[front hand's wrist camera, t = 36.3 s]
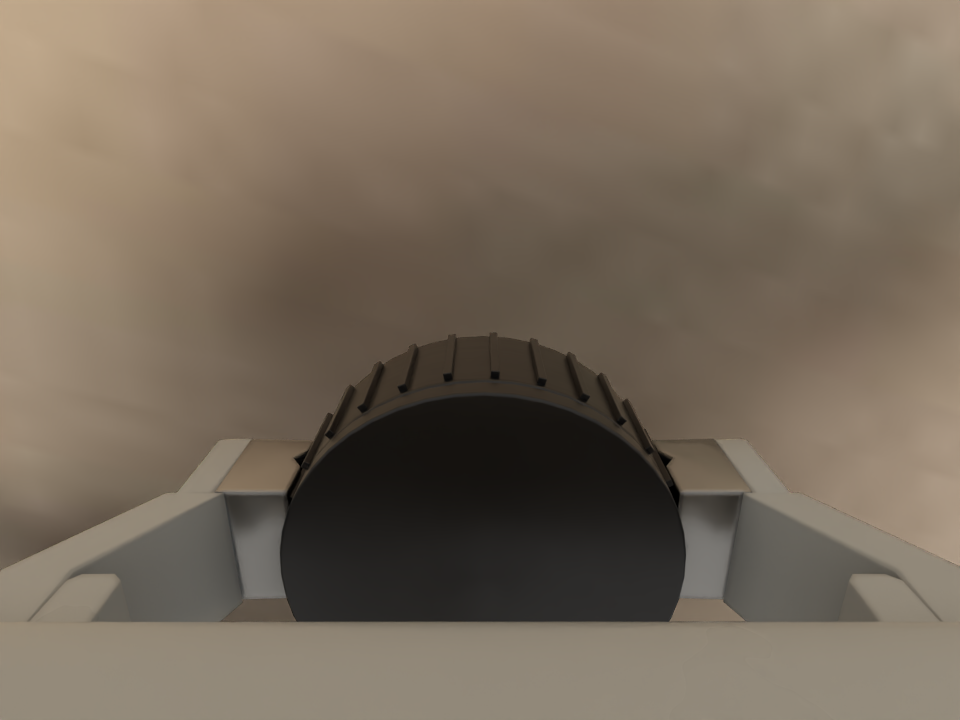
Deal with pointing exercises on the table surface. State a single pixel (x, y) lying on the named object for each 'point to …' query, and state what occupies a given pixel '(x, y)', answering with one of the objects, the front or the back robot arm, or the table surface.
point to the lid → (482, 496)
